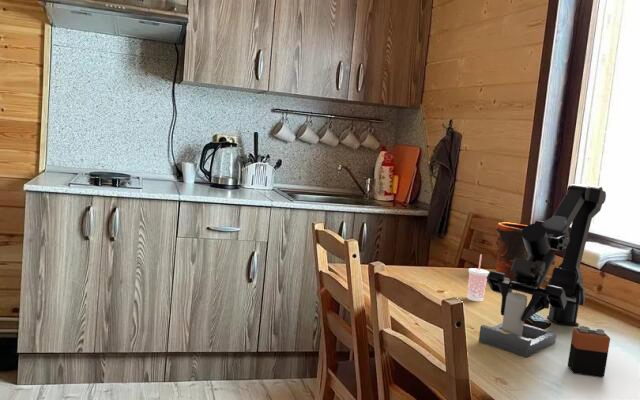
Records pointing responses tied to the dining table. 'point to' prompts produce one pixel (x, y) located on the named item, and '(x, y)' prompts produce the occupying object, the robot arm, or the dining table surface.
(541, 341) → the grey shallow tray
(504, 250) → the vessel
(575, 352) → the battery
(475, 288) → the beverage cup
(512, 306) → the beverage can
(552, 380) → the dining table surface
